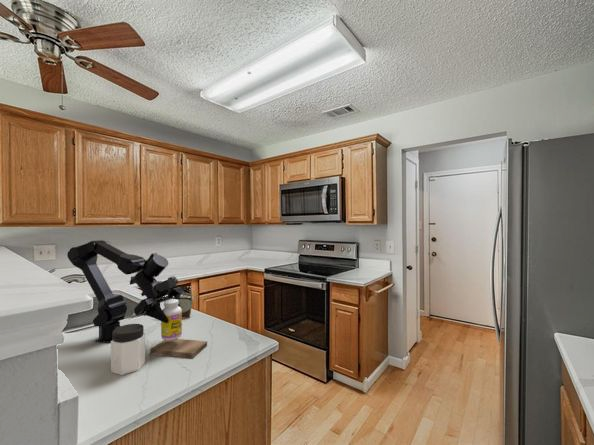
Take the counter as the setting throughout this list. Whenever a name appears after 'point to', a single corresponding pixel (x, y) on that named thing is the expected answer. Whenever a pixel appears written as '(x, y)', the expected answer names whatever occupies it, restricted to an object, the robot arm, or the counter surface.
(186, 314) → the food container
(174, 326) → the supplement bottle
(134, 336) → the jar
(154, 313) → the robot arm
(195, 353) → the walnut board
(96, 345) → the counter surface
